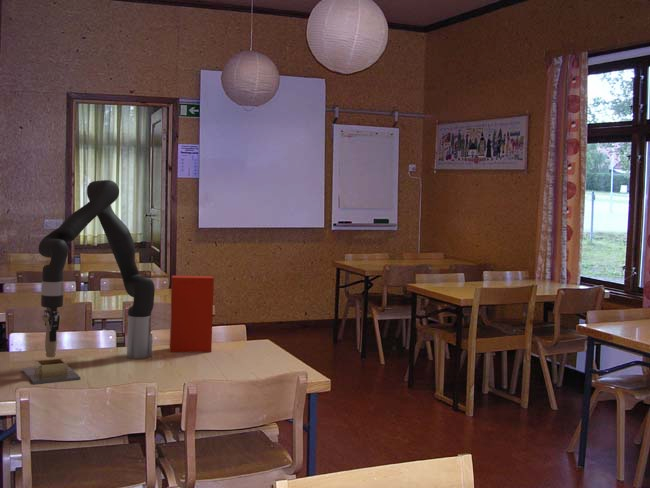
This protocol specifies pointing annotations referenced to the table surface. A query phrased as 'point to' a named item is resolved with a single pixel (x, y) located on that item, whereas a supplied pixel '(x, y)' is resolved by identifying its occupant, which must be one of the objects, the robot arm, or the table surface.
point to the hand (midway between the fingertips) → (51, 339)
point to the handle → (49, 346)
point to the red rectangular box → (191, 313)
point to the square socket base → (50, 371)
